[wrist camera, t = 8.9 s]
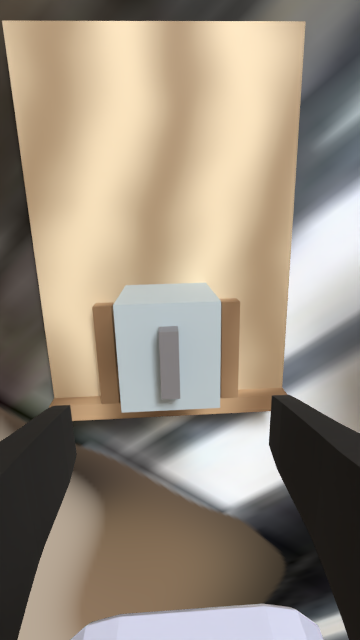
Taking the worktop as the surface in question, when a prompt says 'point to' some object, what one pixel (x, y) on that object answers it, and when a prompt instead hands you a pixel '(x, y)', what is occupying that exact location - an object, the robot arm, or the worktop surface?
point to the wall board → (159, 188)
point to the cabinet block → (168, 347)
